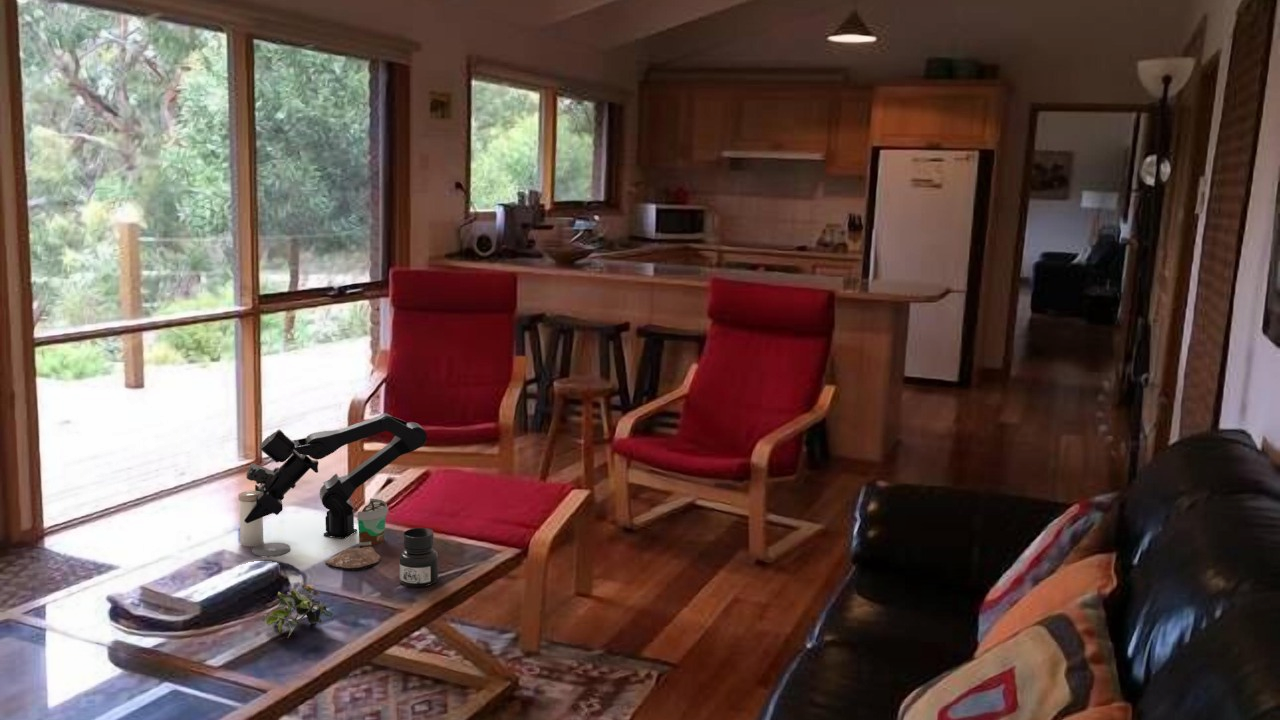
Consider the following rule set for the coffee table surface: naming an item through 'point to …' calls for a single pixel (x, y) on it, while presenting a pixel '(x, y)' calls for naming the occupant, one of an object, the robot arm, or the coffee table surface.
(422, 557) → the ink bottle
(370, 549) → the shell
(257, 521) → the tumbler
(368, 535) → the food container
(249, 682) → the coffee table surface
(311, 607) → the green leafy plant
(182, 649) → the coffee table surface
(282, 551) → the coaster
